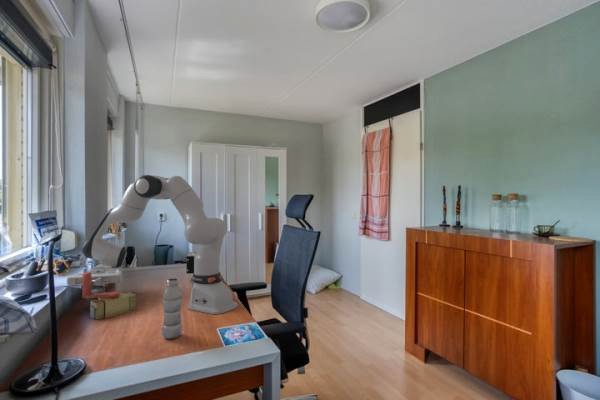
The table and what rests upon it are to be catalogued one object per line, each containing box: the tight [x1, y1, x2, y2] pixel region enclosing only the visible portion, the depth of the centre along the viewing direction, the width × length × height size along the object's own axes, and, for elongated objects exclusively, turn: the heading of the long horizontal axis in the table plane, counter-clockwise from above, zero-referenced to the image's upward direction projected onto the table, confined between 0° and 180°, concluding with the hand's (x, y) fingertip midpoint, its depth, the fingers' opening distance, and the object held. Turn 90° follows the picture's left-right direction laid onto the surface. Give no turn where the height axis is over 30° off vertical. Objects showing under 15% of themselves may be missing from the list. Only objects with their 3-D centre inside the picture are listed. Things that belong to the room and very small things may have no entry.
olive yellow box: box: [89, 291, 137, 320], centre depth 130 cm, size 16×8×7 cm, turn 141°
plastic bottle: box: [161, 277, 183, 340], centre depth 108 cm, size 6×7×20 cm
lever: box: [81, 271, 121, 299], centre depth 129 cm, size 14×4×10 cm, turn 105°
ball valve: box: [185, 250, 197, 284], centre depth 178 cm, size 18×8×18 cm, turn 15°
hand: (89, 283), depth 129 cm, fingers closed
